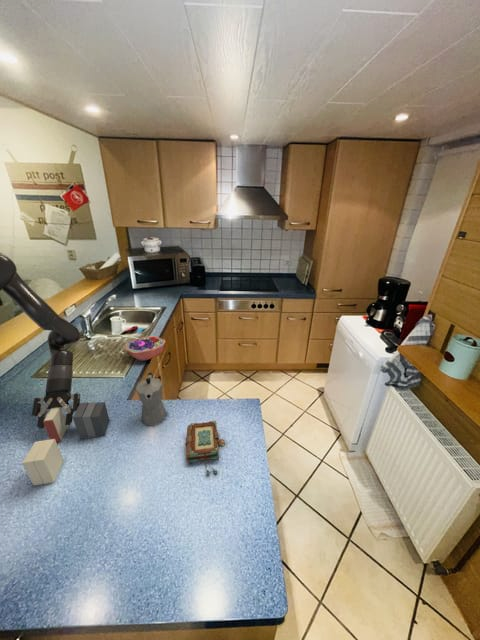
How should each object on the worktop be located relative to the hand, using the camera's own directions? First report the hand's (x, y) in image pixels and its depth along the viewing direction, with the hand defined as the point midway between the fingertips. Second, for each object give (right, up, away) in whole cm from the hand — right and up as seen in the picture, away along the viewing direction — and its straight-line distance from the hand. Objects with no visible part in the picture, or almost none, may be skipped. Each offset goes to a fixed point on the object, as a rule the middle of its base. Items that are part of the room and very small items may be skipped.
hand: (54, 426), depth 86 cm
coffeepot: (+30, -1, +13) cm, 33 cm away
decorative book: (+53, -8, -1) cm, 53 cm away
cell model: (+14, +17, +50) cm, 54 cm away
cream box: (+5, -10, -10) cm, 15 cm away
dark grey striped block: (+11, -3, +6) cm, 13 cm away
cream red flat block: (0, -4, +3) cm, 5 cm away
